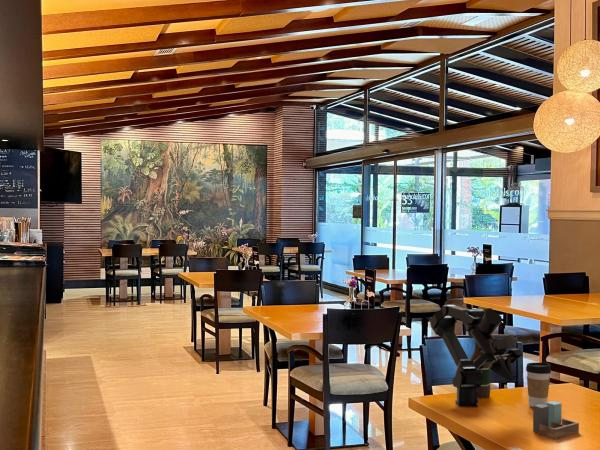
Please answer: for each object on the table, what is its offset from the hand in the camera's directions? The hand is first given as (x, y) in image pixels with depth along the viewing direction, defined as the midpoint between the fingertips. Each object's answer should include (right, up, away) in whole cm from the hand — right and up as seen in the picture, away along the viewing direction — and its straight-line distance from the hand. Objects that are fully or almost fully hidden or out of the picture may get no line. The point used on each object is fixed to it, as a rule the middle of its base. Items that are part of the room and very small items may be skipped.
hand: (512, 380), depth 215 cm
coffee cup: (+15, -14, +20) cm, 28 cm away
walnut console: (+11, -14, -10) cm, 21 cm away
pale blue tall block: (+11, -14, -5) cm, 18 cm away
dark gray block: (+6, -14, -9) cm, 17 cm away
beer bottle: (-2, -13, +32) cm, 35 cm away
